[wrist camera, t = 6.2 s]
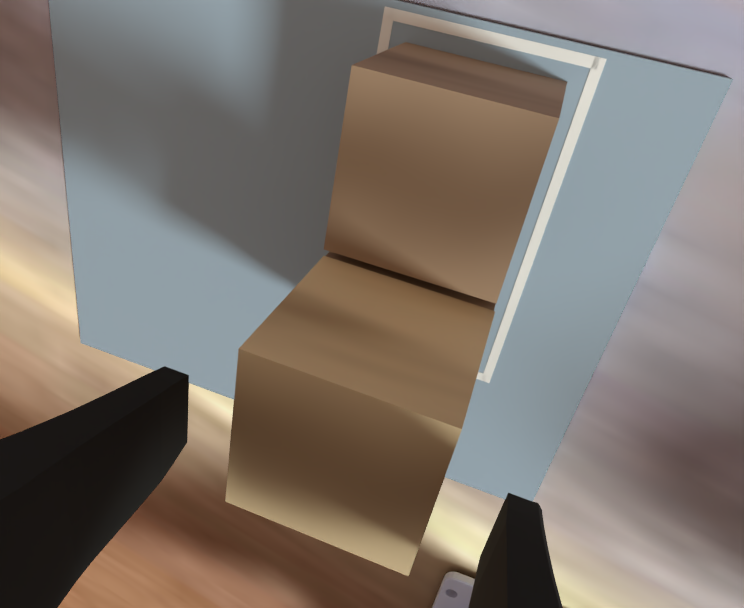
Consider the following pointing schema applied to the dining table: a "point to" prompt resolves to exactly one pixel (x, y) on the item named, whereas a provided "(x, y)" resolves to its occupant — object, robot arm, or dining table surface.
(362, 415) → the oak block
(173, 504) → the dining table surface
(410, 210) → the walnut block
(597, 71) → the blueprint mat
